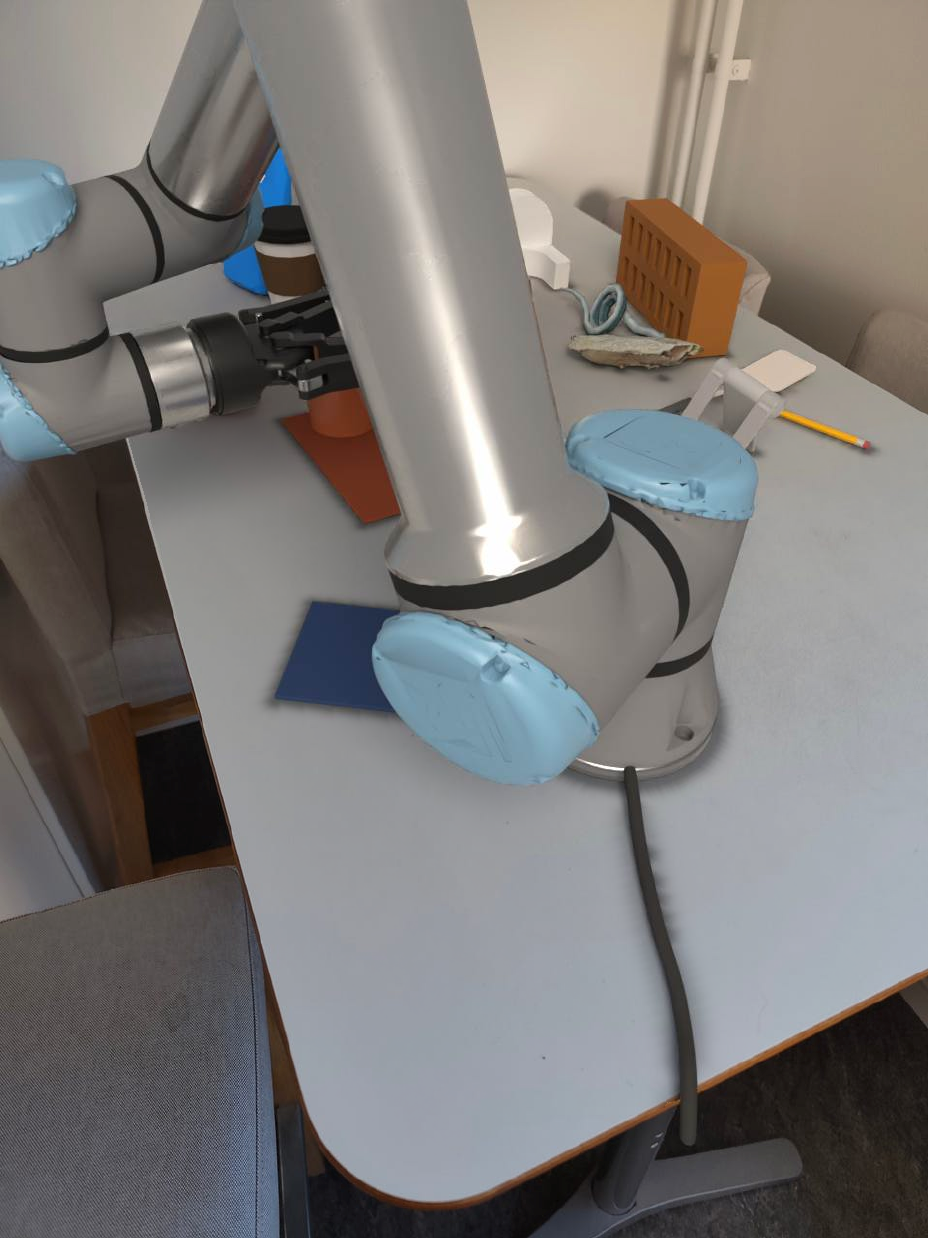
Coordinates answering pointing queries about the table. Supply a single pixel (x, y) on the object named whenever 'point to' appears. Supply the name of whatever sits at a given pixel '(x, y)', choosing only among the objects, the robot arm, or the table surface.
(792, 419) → the pencil
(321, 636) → the blue mat
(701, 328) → the brick
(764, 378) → the spatula
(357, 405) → the terracotta tumbler
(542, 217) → the white piece
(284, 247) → the coffee cup
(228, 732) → the table surface
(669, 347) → the stone fragment
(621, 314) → the stylized snake
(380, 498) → the terracotta mat
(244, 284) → the spray bottle
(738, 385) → the tablet stand
